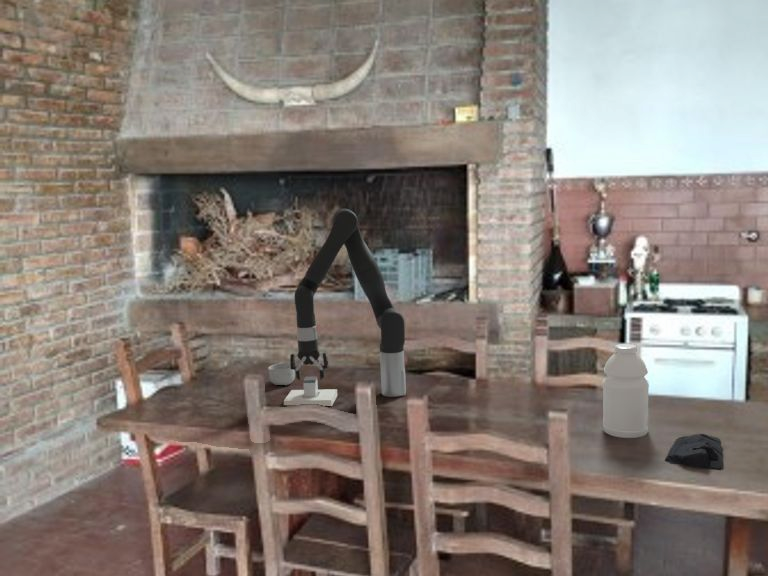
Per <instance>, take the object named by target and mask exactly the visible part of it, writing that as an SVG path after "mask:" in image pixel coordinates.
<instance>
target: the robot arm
mask: <svg viewBox="0 0 768 576" xmlns="http://www.w3.org/2000/svg"><path fill="white" fill-rule="evenodd" d="M331 223H332V226H331V229H330V232H329V234H328V237H327V238H326V240H325V242H324V243H323V245H322V246H321V247H320V249H319V250H318V251H317V254H316V255H315V256H314V257H313V259H312V261H311V263H310V264H309V267H308V268H307V269H306V271H305V274H304V277H303V278H302V280H301V281H300V283H299V284H298V286H297V287H296V289H295V290H294V291H295V292H294V297H293V298H294V303H295V304H294V305H295V311H296V339H297V348H298V349H297V350H298V353H294V352H292V353H291V354H290V357H289V358H290V361H289V363H290V366H291V369H292V370H295V378H296V380H298V381H301V380H302V373H301V371H302V370H301V369H300V368H301V367H302V366H303V365H304V366H305V365H306V366H307V365H311V366H312V365H315V366H316V367H317V368H318V369H319V379H320V380H323V379H324V378H325V369H328V368H329V364H330V363H329V357H328V352H327V351H324V352H320V351H319V343H318V342H319V341H318V331H317V326H316V322H317V321H316V314H315V312H314V311H315V309H314V308H315V307H314V297H315V294H316V292H317V290H318V288H319V287H320V285H321V284H322V283H323V281H324V280H325V278H326V277H327V275H328V273H329V270H330V269H331V267H332V266H333V263H334V261H335V260H336V258H337V256H338V254H339V252H340V251H341V249H342V247H343V246H344V248H346V249H345V250H346V252H347V255H348V258H349V262H350V265H351V267H352V269H353V272H354V275H355V277H356V279H357V281H358V283H359V285H360V287H361V288H362V290H363V291H362V292H363V293H364V294H365V296H366V298H367V300H368V301H369V303H370V306H371V309H372V311H373V315H374V317H375V320H376V325H377V326H378V327H379V329H380V336H381V339H380V340H381V341H380V344H379V360H380V361H379V362H380V364H379V365H380V379H381V380H380V382H381V383H380V384H381V394H382V396H383V397H389V398H394V397H395V398H396V397H403V396H406V392H407V384H406V368H405V348H404V346H405V339H406V336H405V335H406V333H405V330H406V328H405V327H406V326H405V318H404V317H403V315H402V314H401V313H400V312H398V310H396V308H395V307H394V306H393V304H392V302H391V300H390V298H389V296H388V293H387V291H386V290H387V289H386V285H385V281H384V277H383V274H382V271H381V269H380V266H379V265H378V262H377V260H376V259H375V257H374V255H373V253H372V251H371V250H370V249H369V247H368V246H367V244H366V242H365V240H364V238H363V236H362V233H361V231H360V228H359V219H358V216H357V215H356V213H355V212H353V211H352V210H351V209H349V208H340V209H337V210H336V211H335V213H334V214H333V216H332V219H331ZM320 357H321V359H323V363H322V362H321V361H320V359H319V358H320ZM296 359H299V363H298V364H297V365H296Z"/></svg>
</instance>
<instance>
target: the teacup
mask: <svg viewBox="0 0 768 576" xmlns="http://www.w3.org/2000/svg"><path fill="white" fill-rule="evenodd" d="M267 370H268V374H269V380H270V382H271V383H272V384H273V385H275V386H276V385H285V386H288V385H291V384H292V382H293V381H294V380H295V378H296V371H295V370H292V369H291V366H290V362H282V361H281V362H278V363H274V364H271V365H269V366H268V368H267Z"/></svg>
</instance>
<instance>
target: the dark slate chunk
mask: <svg viewBox="0 0 768 576" xmlns="http://www.w3.org/2000/svg"><path fill="white" fill-rule="evenodd" d="M665 461H666V462H668V463H669V464H671V465H672V464H673V465H677V466H678V465H679V466H680V465H681V466H685V467H689V468H694V469H695V468H697V469H709V470H713V469H714V470H715V469H716V470H721V469H722V468H723V464H724V462H723V449H722V441H721V439H720V438H719V437H715V436H712V435H708V434H705V433H698V434H697V433H696V434H691V435H686V436H685V435H683V436H681V437H680V436H679V437H677V439H675V440H674V444H672V446H671V447H670V448H669V450H668V453H667V455H666V457H665V459H664V462H665Z"/></svg>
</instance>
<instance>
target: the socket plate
mask: <svg viewBox="0 0 768 576" xmlns="http://www.w3.org/2000/svg"><path fill="white" fill-rule="evenodd" d="M337 397H338V389H337V388H335V389H334V388H333V389H332V388H331V389H330V388H329V389H326V388H325V389H318V397H317V398H304V389H291V390H290V392H289V393H288V395H287V396H286V397H285V398H284V400H283V406H284V405H300V404H319V405H323V406H332V407H333V405H334V403H335V401H336V399H337Z"/></svg>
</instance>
